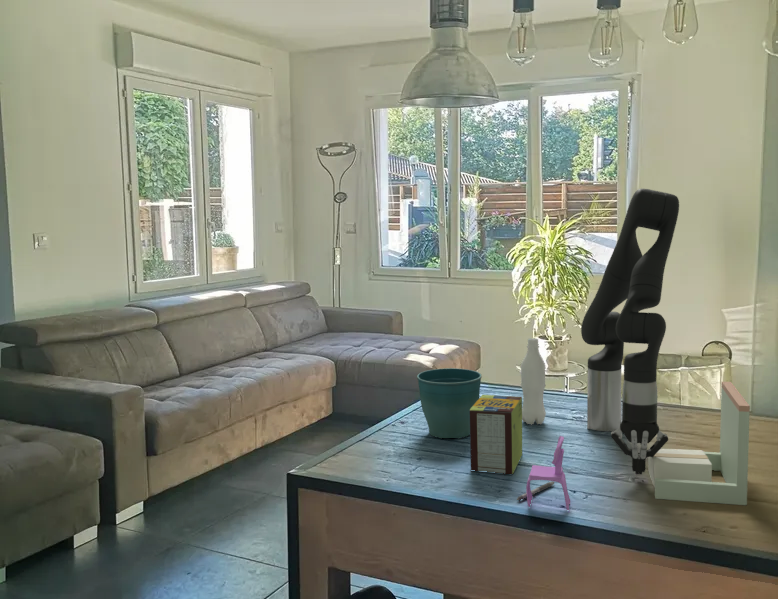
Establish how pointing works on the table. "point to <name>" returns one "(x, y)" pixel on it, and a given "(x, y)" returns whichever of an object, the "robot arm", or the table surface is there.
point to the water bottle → (533, 384)
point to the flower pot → (448, 400)
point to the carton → (680, 465)
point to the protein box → (496, 433)
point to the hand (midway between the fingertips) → (638, 473)
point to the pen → (536, 490)
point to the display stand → (720, 459)
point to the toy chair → (550, 473)
